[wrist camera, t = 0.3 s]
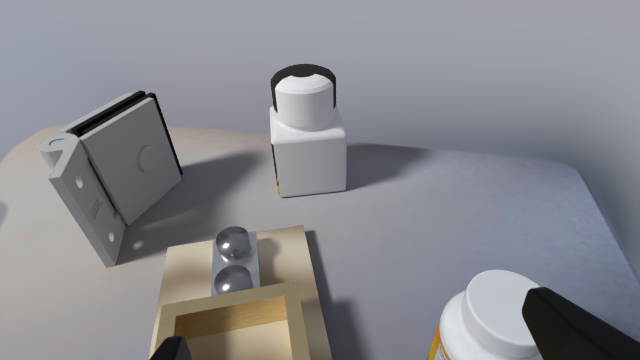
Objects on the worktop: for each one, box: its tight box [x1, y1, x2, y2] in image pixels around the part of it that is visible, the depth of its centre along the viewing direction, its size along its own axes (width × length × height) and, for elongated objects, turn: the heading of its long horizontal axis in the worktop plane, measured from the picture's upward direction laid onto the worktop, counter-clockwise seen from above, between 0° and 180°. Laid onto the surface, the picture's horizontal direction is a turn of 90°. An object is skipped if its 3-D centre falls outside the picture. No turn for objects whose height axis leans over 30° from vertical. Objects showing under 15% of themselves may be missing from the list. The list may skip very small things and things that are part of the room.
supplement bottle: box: [427, 270, 543, 360], centre depth 20 cm, size 5×5×10 cm
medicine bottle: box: [270, 64, 347, 198], centre depth 37 cm, size 7×7×12 cm
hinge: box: [37, 91, 183, 268], centre depth 34 cm, size 14×5×10 cm, turn 169°
